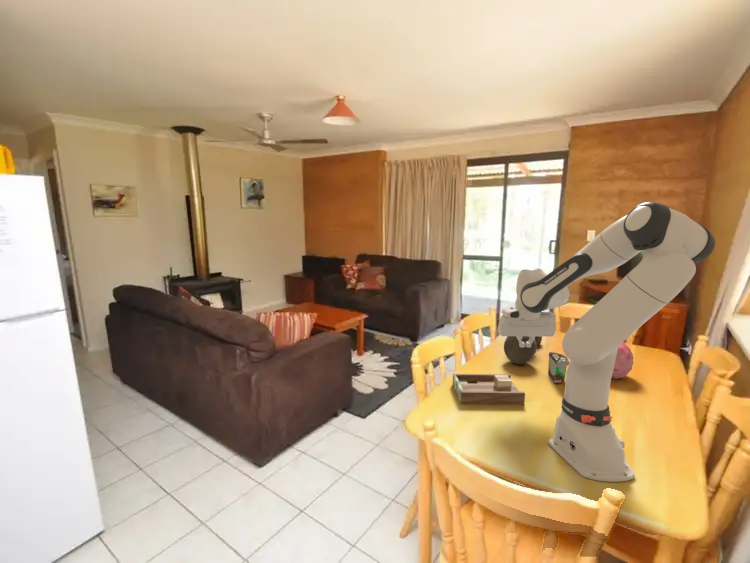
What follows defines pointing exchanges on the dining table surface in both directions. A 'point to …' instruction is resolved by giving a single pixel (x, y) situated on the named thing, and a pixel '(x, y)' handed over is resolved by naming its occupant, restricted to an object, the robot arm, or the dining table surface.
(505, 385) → the beech block
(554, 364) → the food container
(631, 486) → the dining table surface
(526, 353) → the dark brown round ball
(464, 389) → the box
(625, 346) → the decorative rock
